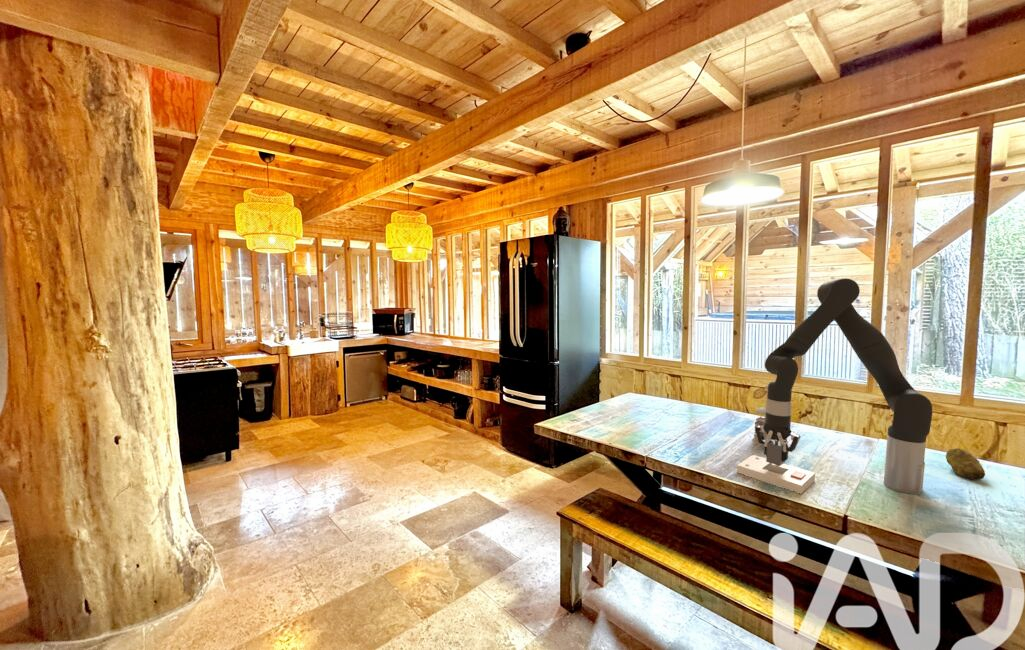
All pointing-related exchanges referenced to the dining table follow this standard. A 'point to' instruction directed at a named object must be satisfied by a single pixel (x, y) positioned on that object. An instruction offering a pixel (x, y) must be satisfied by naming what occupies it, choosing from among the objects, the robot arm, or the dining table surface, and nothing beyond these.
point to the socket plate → (776, 474)
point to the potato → (965, 464)
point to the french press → (760, 422)
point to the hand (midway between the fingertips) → (775, 458)
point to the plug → (774, 453)
